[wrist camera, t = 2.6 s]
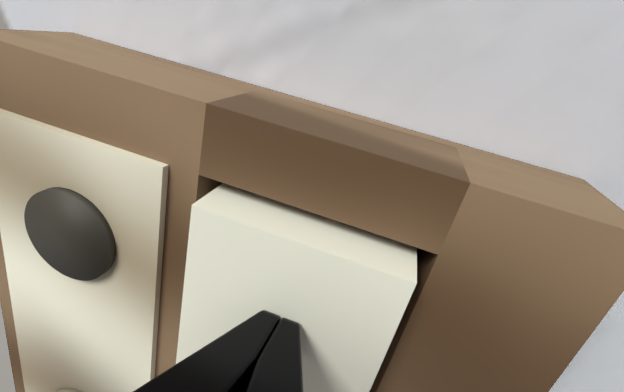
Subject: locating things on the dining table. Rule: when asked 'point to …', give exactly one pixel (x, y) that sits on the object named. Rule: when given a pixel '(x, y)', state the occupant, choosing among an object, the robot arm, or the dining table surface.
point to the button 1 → (295, 284)
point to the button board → (284, 188)
